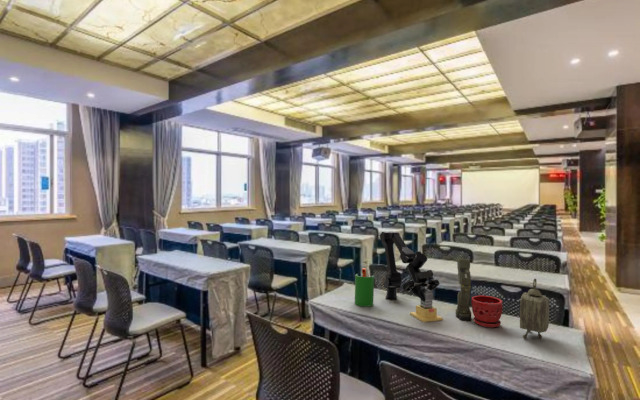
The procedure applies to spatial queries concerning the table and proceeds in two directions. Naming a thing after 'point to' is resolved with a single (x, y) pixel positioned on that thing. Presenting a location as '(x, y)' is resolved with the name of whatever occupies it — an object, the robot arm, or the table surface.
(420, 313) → the stand base
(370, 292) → the green pencil holder
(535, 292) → the tabletop clock
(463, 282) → the mechanical leg
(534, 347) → the table surface
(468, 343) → the table surface
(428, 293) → the column
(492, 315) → the plant pot
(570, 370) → the table surface
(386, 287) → the robot arm
